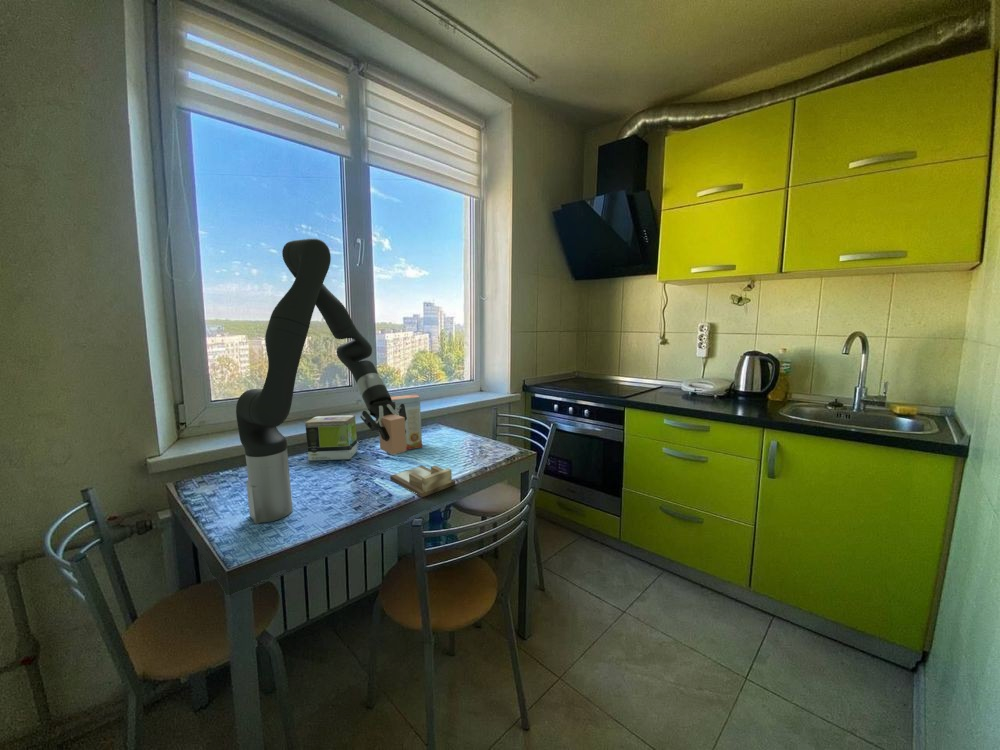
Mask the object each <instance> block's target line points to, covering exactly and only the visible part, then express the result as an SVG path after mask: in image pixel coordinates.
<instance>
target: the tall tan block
mask: <svg viewBox="0 0 1000 750" xmlns="http://www.w3.org/2000/svg"><path fill="white" fill-rule="evenodd" d="M382 421H383V423H384V427H385V428H386V430H387V432H388V434H389V437H390V438H389V440H388V441H385V440H383V439H382V437H381V435H380V433H379V432H378V435H379V448H380V450H381V451H384V452H386V453H388V454H390V455H392V456H394V455H397V454H400V453H404V452H407V450H406V435H405V417H402V416H399V415H396V414H395V415H392V414H391V415H386V416H384V417H382Z"/></svg>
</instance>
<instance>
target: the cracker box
mask: <svg viewBox="0 0 1000 750" xmlns="http://www.w3.org/2000/svg"><path fill="white" fill-rule="evenodd" d="M391 400H392V402H393V403H394V404H395V405H401V404H404V405H405V411H406V416H407V419H406V421H405V429H406V451H407V450H413V449H419V448H422V447H423V441H422V440H423V439H422V416H421V415H422V414H421V413H422V412H421V398H420V396H419V395H418V394H409V395H408V394H407V395H398V396H395V395H394V396H391ZM395 411H396V413H397V410H396V409H395ZM397 414H398V415H399V413H397Z"/></svg>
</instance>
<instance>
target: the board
mask: <svg viewBox="0 0 1000 750" xmlns="http://www.w3.org/2000/svg"><path fill="white" fill-rule="evenodd" d="M452 475H453V474H452V469H450V468H449V467H447V468H446V469H443V468H442V467H439V466H437V465H433V466H430V468H428V467H426V466H423V465H420V466H417V467H413V468H411V469H408V470H404V471H401V472H397V473H395V474H391V475H390V476H389V477H390V480H391V481H392V482H394V483H396V484H398V485H399V486H401V487H403V488H405V489H406V488H407V490H408V489H409V491H410V492H412V491H413V492H415V493H417V494H418V495H417V494H416V495H417V496H419V497H421V498H424V497H427V496H429V495H432V494H435V493H437V492H440V491H442V490H445V489H448V488H450V487H453V486H455V485H456V480H454V479H452ZM413 492H412V493H413ZM415 493H414V494H415Z"/></svg>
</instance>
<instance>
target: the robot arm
mask: <svg viewBox="0 0 1000 750" xmlns="http://www.w3.org/2000/svg"><path fill="white" fill-rule="evenodd" d="M281 253H282V259H283V262H284V264H285V266H286V267H287V268H288V270H289V272H290V273H291V274H292V276H293V277H294V282H293V284H292V285H291V286H290V288H289V290H288V291H287V292H286V293H285V294H284V296H283V297H282V298H281V299H280V300H279V301H278V303H277V304H276V305H275V307H274V309H273V310H272V312H271V315H270V317H269V321H268V325H267V327H266V331H265V337H264V343H265V348H266V349H265V350H266V354H267V362H268V365H267V368H268V369H267V374H266V377H265V381H264V383H263V387H262V388H251V389H248V390H246V391H244V392H243V393H242V394H241V395H240V396H239V397H238V399H237V402H236V407H235V416H236V424H237V429H238V435H239V440H240V444H241V445H242V447H243V448H244V453H245V462H246V473H247V481H246V493H247V502H248V503H247V504H248V511H249V516H250V518H251V520H252V522H254V524H255V525H257V524H261V523H268V522H269V523H270V522H274V521H277V520H280V519H283V518H285V517H287V516H288V515H290V514H292V511H293V499H292V498H293V497H292V489H291V488H292V487H291V476H290V465H289V464H290V463H289V452H288V442H287V439H286V437H285V436H284V435H283V434H282V433H281V432H280V431H279V429H278V427H279V426H280V425H282V424H283V423H284V422H285V421H287V418H288V417H289V415H290V412H291V408H292V404H293V403H292V402H293V398H294V397H293V396H294V390H295V383H296V377H297V373H298V370H299V365H300V361H301V357H302V353H303V349H304V346H305V343H306V340H307V336H308V333H309V329H310V325H311V321H312V318H313V314H314V311H315V307H316V308H317V309H318V311H319V313H320V315H321V316H322V318H323V319H324V322H325V324H326V325H327V327H328V329H329V331H330V332H331V334H332V336H333V338H335V339H337V340H346V339H351V340H350V341H347V342H344V343H342V344H340V345H338V346H337V348H336V356H337V358H338V360H340V362H341V363H342V364H343V365H344V366H345V367H346V368H347V369H348V370H349V372H351V374H352V376H353V378H354V381H355V382H356V385H357V388H358V391H359V394H360V395H361V398H362V400H363V403H364V405H365V406H366V408H367V410H362V412H361V414H360V417H359V418H360V419H361V420H362V421H363V423H364V424H365V425H366V426H367V427H368V428H369V430H371V431H372V432H374V431H378V434H379V433H380V435H381V437H382V439H383V440H385V441H388V440H389V438H390V437H389V434H388V432H387V430H386V428H385V427H384V423H383V421H382V417H384V416H386V415H391V414H392V415H395V414H396V415H398V414H397V413H399V416H402V417H405V421H406V419H407V416H406V411H405V405H404V404H401V405H395V404H394V403H393V402H392V400H391V397H392V396H391V395H390V393H389V391H388V389H387V386H386V384H385V383H384V380H383V379H382V378H381V376H380V375H379V372H378V370H377V368H376V367H375V364H374V363H373V362H372V361H371V360H365V359H368V358H369V357H370V356H371V355H372V353H373V347H372V345H371V344H370V342H369V341H368V339H366V338H365V337H364V335H362V333H361V332H360V331H359V330H358V329H357V327H356V326H355V324H354V322H353V319H352V317H351V316H350V314H349V311H348V310H347V309H346V307H345V305H344V304H343V303H342V302H341V301H340V300H339V299H338V298H337V297H336V295H334V293H332V292H331V291H330V290H329V289H328V288H327V287H326V285H325V284H324V282H325V280H326V277H327V274H328V272H329V270H330V269H329V268H330V265H331V261H332V257H331V251H330V248H329V246H328V244H327V243H326V242H324V240H321V239H318V238H303V239H295V240H290V241H288V242H286V243H285V244H284V246H283V248H282V250H281ZM395 409H396V410H397V413H396V411H395ZM372 417H373V418H374V419H375V420H374V419H373V418H372ZM405 435H406V429H405Z"/></svg>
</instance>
